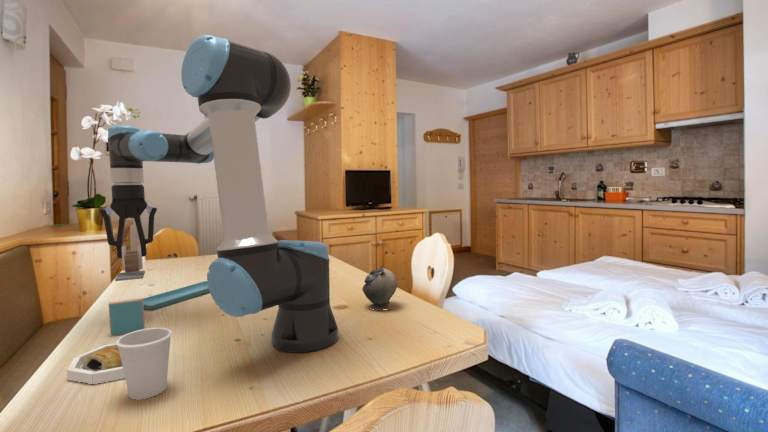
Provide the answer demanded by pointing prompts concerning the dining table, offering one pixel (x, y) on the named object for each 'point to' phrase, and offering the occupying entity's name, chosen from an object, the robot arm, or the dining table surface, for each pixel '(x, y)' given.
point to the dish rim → (93, 376)
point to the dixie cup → (145, 361)
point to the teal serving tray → (175, 296)
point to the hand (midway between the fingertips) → (133, 268)
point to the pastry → (103, 360)
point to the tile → (126, 316)
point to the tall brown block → (131, 267)
